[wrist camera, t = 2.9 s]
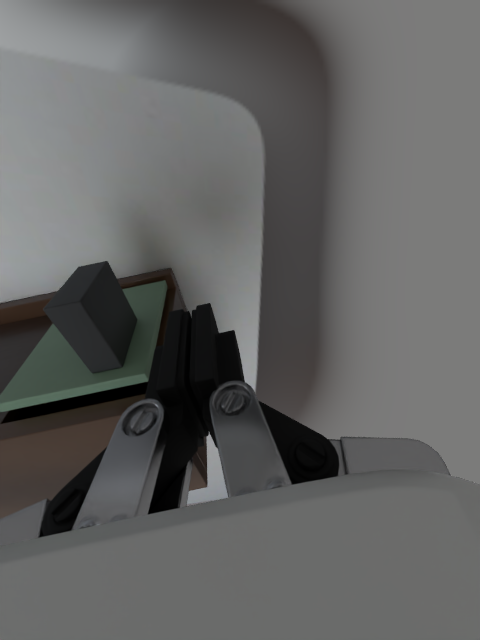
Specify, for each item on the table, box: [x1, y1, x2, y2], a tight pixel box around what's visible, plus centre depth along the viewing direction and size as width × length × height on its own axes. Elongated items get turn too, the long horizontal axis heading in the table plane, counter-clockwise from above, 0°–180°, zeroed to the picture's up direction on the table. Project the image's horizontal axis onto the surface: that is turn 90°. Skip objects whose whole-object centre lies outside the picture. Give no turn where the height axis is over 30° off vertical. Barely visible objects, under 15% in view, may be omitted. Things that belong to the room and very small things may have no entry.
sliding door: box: [0, 261, 167, 412], centre depth 15 cm, size 5×7×9 cm, turn 99°
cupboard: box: [0, 268, 207, 519], centre depth 19 cm, size 11×16×12 cm, turn 99°
